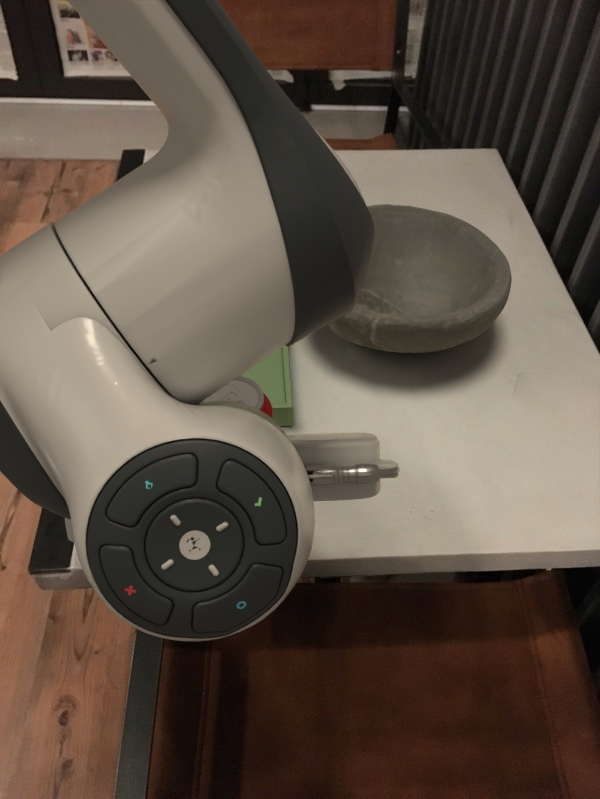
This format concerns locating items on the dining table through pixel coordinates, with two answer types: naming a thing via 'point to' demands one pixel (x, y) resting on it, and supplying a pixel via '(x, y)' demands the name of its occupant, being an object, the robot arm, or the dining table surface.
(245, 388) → the beverage can
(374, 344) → the bowl
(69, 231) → the robot arm
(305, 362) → the dining table surface
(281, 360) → the sage tray
